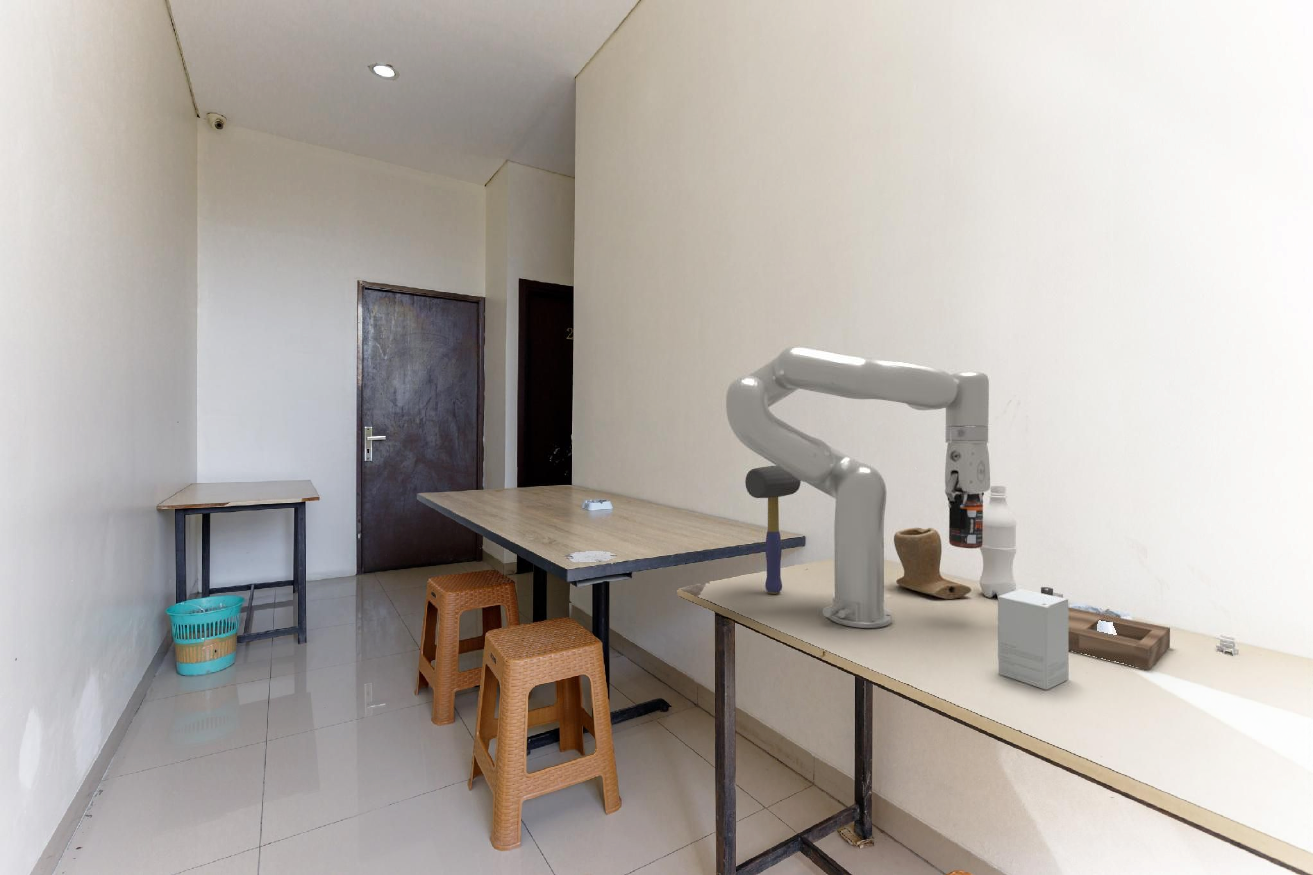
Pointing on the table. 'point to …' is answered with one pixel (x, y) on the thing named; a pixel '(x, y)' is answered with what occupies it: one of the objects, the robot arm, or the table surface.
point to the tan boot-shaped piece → (924, 564)
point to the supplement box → (1033, 638)
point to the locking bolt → (1050, 592)
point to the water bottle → (998, 545)
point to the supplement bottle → (969, 525)
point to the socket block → (1117, 639)
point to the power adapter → (1227, 644)
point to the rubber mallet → (772, 514)
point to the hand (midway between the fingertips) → (965, 525)
